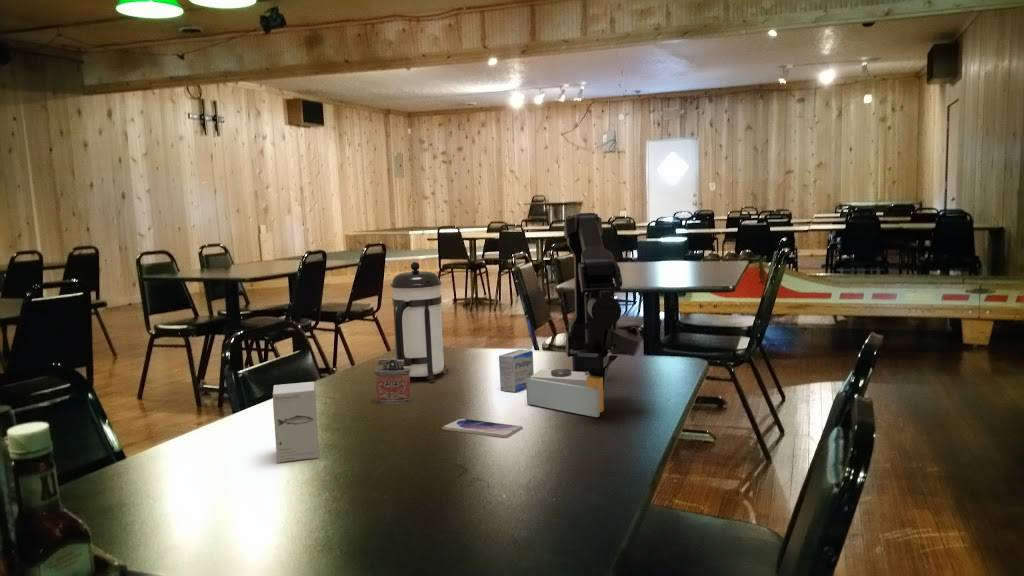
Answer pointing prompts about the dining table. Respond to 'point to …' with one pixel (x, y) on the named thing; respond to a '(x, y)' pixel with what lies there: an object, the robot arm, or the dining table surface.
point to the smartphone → (482, 428)
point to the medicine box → (515, 370)
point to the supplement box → (295, 421)
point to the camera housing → (563, 376)
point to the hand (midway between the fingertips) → (601, 391)
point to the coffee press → (418, 322)
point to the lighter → (393, 382)
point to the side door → (567, 395)
